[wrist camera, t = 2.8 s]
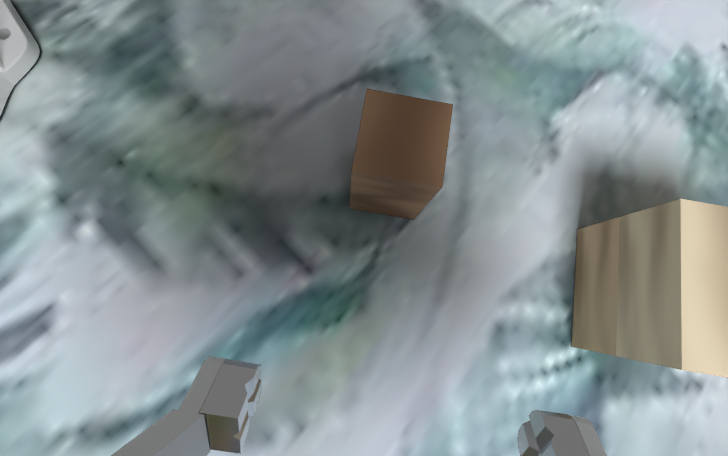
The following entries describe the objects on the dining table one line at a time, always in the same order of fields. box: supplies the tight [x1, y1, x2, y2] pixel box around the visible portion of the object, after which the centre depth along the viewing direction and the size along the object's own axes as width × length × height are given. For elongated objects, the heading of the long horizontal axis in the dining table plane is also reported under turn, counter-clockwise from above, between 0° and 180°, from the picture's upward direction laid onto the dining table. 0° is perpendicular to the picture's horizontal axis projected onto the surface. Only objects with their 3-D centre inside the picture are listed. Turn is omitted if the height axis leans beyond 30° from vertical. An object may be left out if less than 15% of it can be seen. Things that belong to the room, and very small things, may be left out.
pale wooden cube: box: [572, 199, 728, 378], centre depth 21 cm, size 8×8×8 cm
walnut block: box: [350, 89, 453, 220], centre depth 22 cm, size 4×4×8 cm
